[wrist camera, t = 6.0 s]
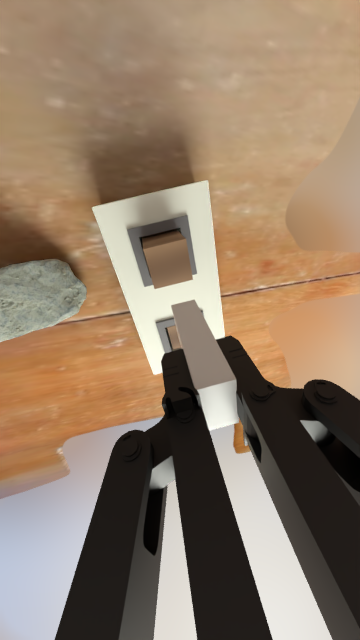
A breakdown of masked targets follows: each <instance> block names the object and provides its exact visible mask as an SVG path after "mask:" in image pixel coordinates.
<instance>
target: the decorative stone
mask: <svg viewBox="0 0 360 640" xmlns="http://www.w3.org/2000/svg"><path fill="white" fill-rule="evenodd" d="M86 293H87V290H86V286H85V285H84V284H83V283H82V282H81V281H80V280H79V279H78V278H77V277H76V276H75V275H74V274H73V272H72V270H71V268H70V266H69V264H68V263H66V262H63V261H60V260H59V259H47V260H36V261H29V262H24V263H19V264H11V265H8V266H6V267H3V268H0V342H2V341H5V340H9V339H12V338H15V337H19V336H22V335H24V334H27V333H29V332H32V331H35V330H39V329H42V328H47V327H50V326H53V325H55V324H57V323H59V322H61V321H63V320H64V319H67V318H69V317H71V316H73V315H75V314H77V313H78V312H79V309H80V307H81V306H82V304H83V301H84V300H85V299H86Z"/></svg>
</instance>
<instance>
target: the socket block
mask: <svg viewBox="0 0 360 640" xmlns="http://www.w3.org/2000/svg"><path fill="white" fill-rule="evenodd" d="M92 209H93V212H94V215H95V218H96V220H97V223H98V226H99V228H100V231H101V234H102V236H103V239H104V242H105V245H106V247H107V250H108V253H109V255H110V258H111V261H112V263H113V266H114V269H115V272H116V274H117V277H118V280H119V282H120V285H121V288H122V290H123V293H124V296H125V298H126V301H127V304H128V307H129V309H130V312H131V315H132V317H133V320H134V323H135V325H136V328H137V331H138V334H139V336H140V339H141V342H142V344H143V347H144V350H145V352H146V355H147V358H148V360H149V363H150V366H151V369H152V371H153V374H154V375H156V374H159V373H163V372H162V365H161V360H162V357H163V355H164V353H168V352H172V351H176V350H180V349H182V348H178V349H174V350H173V347H172V344H171V340H170V337H169V333H168V330H167V327H170V326H174V325H175V321H174V316H173V312H172V308H171V305H174V304H178V303H182V302H186V301H190V300H194V299H195V301H196V303H197V305H198V307H199V309H200V311H201V313H202V315H203V316H204V318H205V320H206V322H207V324H208V326H209V328H210V330H211V332H212V334H213V336H214V338H215V339H220V338H224V337H225V334H224V324H223V315H222V306H221V297H220V287H219V278H218V269H217V259H216V250H215V241H214V232H213V222H212V213H211V204H210V194H209V185H208V180H205V181H200V182H194V183H190V184H186V185H181V186H177V187H173V188H169V189H164V190H160V191H156V192H152V193H147V194H143V195H139V196H134V197H130V198H126V199H122V200H117V201H113V202H109V203H105V204H101V205H97V206H94V207H92ZM172 229H174V230H175V229H177V230H178V231H179V232H180V233H181V234H182V235H183V236H184V237H185V238H186V242H187V247H188V253H189V259H190V265H191V270H192V276H193V280H190V281H186V282H182V283H178V284H174V285H170V286H166V287H162V288H158V289H154V286H153V282H152V279H151V275H150V272H149V268H148V265H147V261H146V258H145V254H144V251H143V242H142V238H141V237H143V236H147V235H152V234H156V233H160V232H164V231H168V230H172Z"/></svg>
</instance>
